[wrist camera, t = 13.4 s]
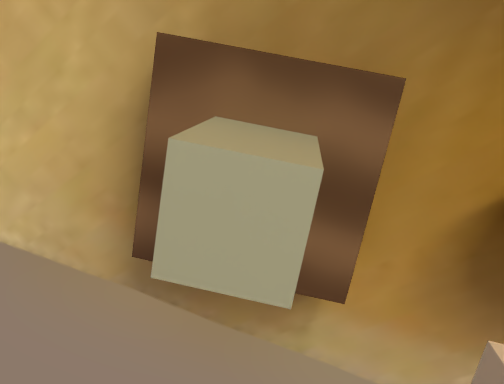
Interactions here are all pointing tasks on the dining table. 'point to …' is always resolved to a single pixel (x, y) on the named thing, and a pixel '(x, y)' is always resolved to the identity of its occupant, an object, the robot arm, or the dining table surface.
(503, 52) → the dining table surface
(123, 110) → the dining table surface
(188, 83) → the walnut board
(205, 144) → the sage block
